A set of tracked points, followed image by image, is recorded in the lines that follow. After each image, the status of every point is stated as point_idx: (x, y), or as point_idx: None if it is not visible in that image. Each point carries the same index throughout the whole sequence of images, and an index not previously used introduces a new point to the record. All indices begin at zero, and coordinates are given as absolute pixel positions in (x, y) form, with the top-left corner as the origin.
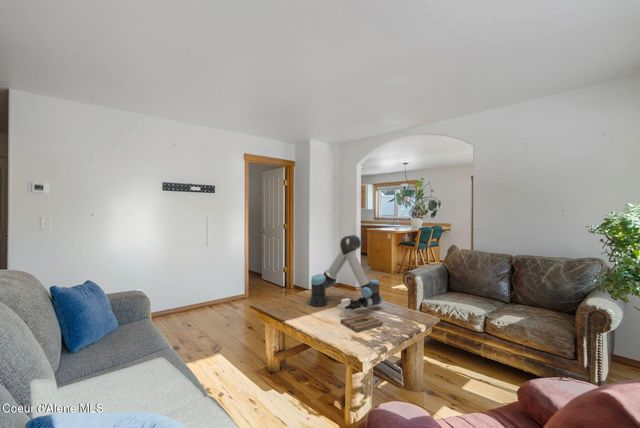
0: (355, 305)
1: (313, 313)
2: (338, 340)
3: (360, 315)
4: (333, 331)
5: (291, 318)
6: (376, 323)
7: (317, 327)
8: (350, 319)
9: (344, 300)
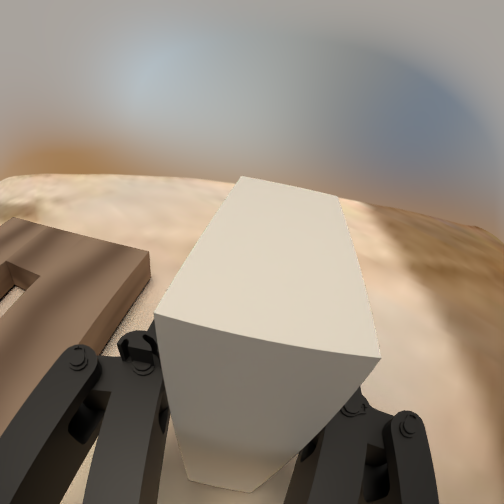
0: (19, 421)
1: (417, 288)
2: (81, 185)
3: (1, 421)
4: (131, 208)
5: (378, 217)
6: None
7: None
8: (67, 282)
9: (241, 185)
